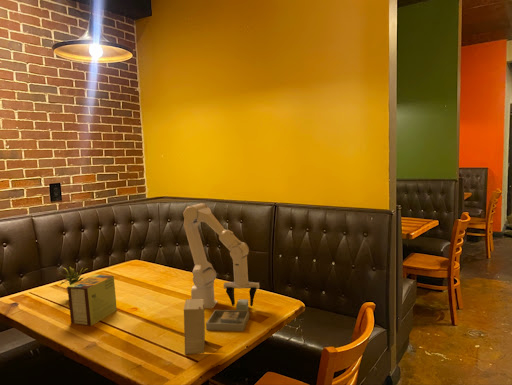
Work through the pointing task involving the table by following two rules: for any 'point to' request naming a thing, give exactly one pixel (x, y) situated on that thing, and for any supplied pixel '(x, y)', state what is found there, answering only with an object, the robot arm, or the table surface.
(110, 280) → the protein box
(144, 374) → the table surface
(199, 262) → the robot arm
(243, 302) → the carton
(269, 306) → the table surface
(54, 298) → the table surface
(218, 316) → the crate
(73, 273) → the house plant
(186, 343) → the skincare box
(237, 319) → the wooden block
